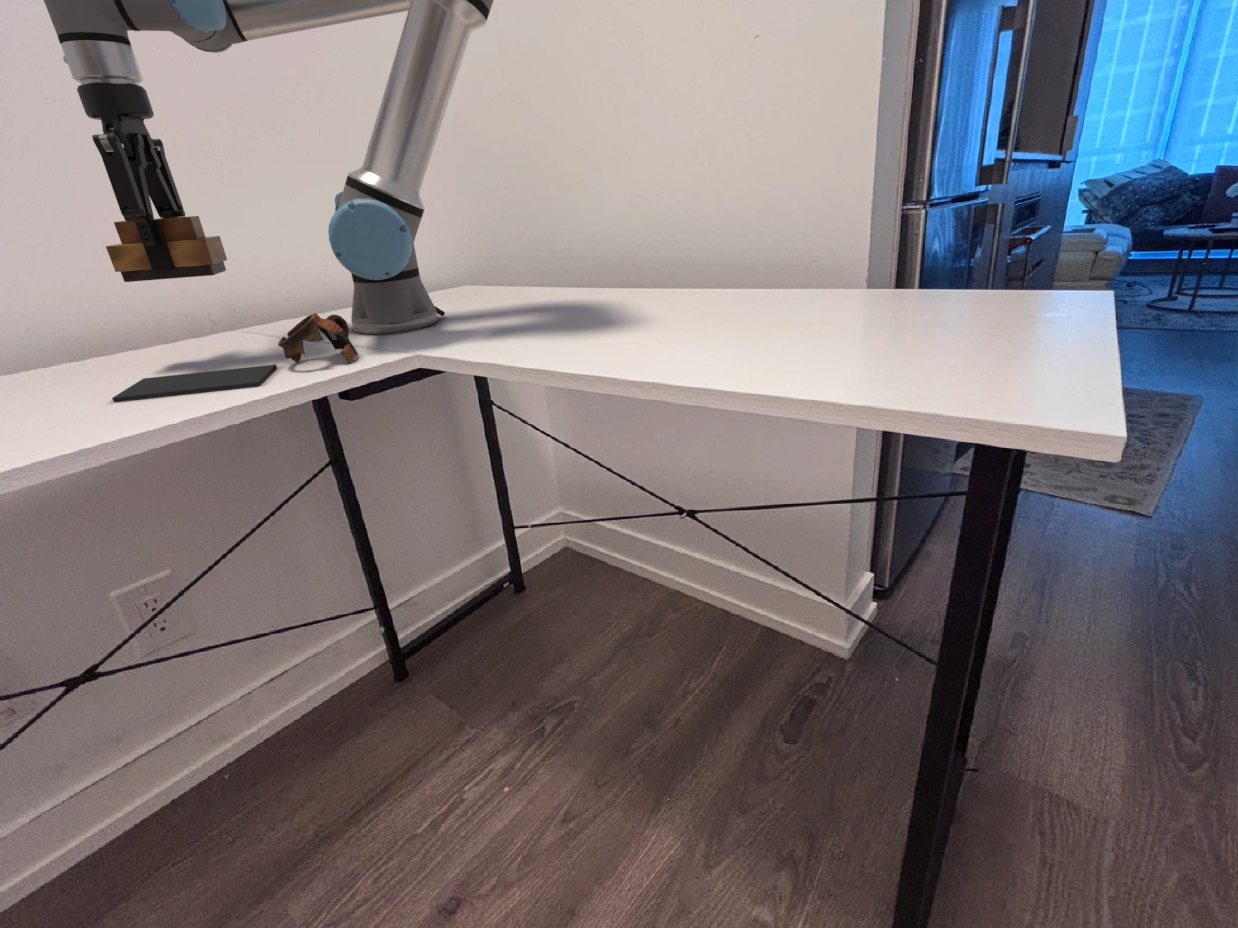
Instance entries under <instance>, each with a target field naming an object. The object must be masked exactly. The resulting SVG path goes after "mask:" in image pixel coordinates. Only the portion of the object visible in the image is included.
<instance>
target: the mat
mask: <svg viewBox="0 0 1238 928" xmlns="http://www.w3.org/2000/svg"><path fill="white" fill-rule="evenodd" d="M277 369H278V366H277V364H267V365H257V366H248V367H237V368H228V369H219V370H209V371H201V372H200V371H199V372H191V373H181V374H173V375H162V376H152V377H144V378H142V379H140V380H139V381H137V382H135V383H133V384H132V385H131V386H129V387H128V388H126V389H124V390H123V391H121V392H119V393H118V394H116V395H114V396H113V397H112V398H111V399H112V401H113V402H114V403H118V402H126V401H136V400H147V399H153V398H154V399H155V398H163V397H172V396H181V395H191V394H198V393H200V394H201V393H207V392H217V391H225V390H226V391H227V390H236V389H244V388H245V389H246V388H254V387H260V386H261V385H262V384H263V383H264V382H265V381H266V380H267V379H268V378H269V377H270V376H271V375H272V374H273V373H274V372H275V371H276V370H277Z"/></svg>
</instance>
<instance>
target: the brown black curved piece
mask: <svg viewBox="0 0 1238 928" xmlns="http://www.w3.org/2000/svg"><path fill="white" fill-rule="evenodd" d="M321 333H322V334H323V335H324V336H325V337H326V339H327V340H328V341H329V342H330V344H331V345H332V347H333V349H334V350H340V352H339V353H340V354H341V355H342V356H343V357H344V358H345V361H346V362H347V364H352V363H353V362H354V361H355V360H356V358H357V357H358V355H359V353H358V351H357V350H356V348H355V346H354V345H353V343H352V342H351V340H350V338H349V336H350V328H349V324H348V322H347V321H346V320H345V319H344V317H342V316H340V315H339V314H330V315H328V316H327V317H325V318H322V317H320V315H318V313H317V312H314V313H311V314H309V315H307V316H306V317H305V318H303V319H302V320H301V321H300V322H298V323H297V324H296V325H295V326H293V327H292V328H291V329H290V330H288V332H287V334H286V335H287V336H288V337H285V336H283V337H282V338H280V340H279V341H278V343H277V346H278V347H280V348H281V349H283V356H284V358H285V359H287V360H289V359H291V361H294V362H295V363H297V364H298V363H300V361H301V359H302V355H305V354H306V352H305V347H304V341H305V342H309V343H311V342H322V341H324V340H325V338H324V337H323V335H322V334H321Z"/></svg>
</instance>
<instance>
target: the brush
mask: <svg viewBox="0 0 1238 928" xmlns="http://www.w3.org/2000/svg"><path fill="white" fill-rule="evenodd" d="M157 220H159V222H160V225H161V228H162V231H163V234H164V237H165V240H166V242H167V245H168V248H169V251H170V254H171V257H172V260H173V263H174V265H175V269H168V270H155V271H153V270H152V267H151V265H150V262H149V259H148V256H147V254H146V251H145V248H144V245H143V243H142V240H141V237H140V234H139V232H138V229H137V226H136V223H135V222H127V221H126V220H120V221H114V222H113V225H114V227H115V229H116V233H117V235H118V238H119V240H120V243H117V244H111V245H106V246H105V248H106V251H107V254H108V256H109V258H110V261H111V264H112V267H113V269H114V271H115V273H120V274H121V277H122V279H123V282H124V283H131V282H133V283H134V282H145V281H158V280H169V279H182V278H195V277H196V278H197V277H207V276H215V275H218V274H221V273H223V272H226V271H227V269H226V265H225V261H228V258H227V255H226V251H225V248H224V245H223V242H222V238H221V236H220V235H215V236H206V234H205V232H204V227H203V225H202V221H201V218H200V216H199V215H193V216H192V215H190V216H185V217H174V218H160V217H159V218H154V220H152V221H157Z"/></svg>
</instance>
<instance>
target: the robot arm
mask: <svg viewBox="0 0 1238 928" xmlns="http://www.w3.org/2000/svg"><path fill="white" fill-rule="evenodd" d="M43 2H44V5H45V8H46V10H47V12H48V15H49V18H50V20H51V22H52V26H53V28H54V31H55V33H56V36H57V39H58V42H59V44H60V46H61V50H62V52H63V57H62V61H63V62H64V63H65V64H67V65H68V68H69V71H70V74H71V77H72V79H73V80H75V81H76V82H78V83H80V85H78V86H77V88H76V91H77V94H78V96H79V97H78V98H79V99H80V102H81V105H82V108H83V110H84V113H85V115H86V116H87V117H88V118H89V119H93V120H97V121H101V127H102V128H101V129H102V132H103V133H102V134H93V135H92V136H91V138H92V141H93V143H94V145H95V147H96V149H97V151H98V153H99V154H100V156H101V159H102V163H103V165H104V168H105V171H106V173H107V177H108V180H109V182H110V185H111V188H112V191H113V193H114V197H115V200H116V203H117V205H118V208H119V210H120V211H119V212H120V213H121V215H122V217H123V219H124V221H127V222H135V223H136V226H137V229H138V232H139V234H140V237H141V240H142V243H143V245H144V248H145V251H146V254H147V256H148V259H149V262H150V265H151V267H152V270H153V271H155V270H168V269H175V265H174V263H173V260H172V257H171V254H170V251H169V248H168V245H167V242H166V240H165V237H164V234H163V231H162V228H161V225H160V222H159V220H157V221H152V220H154V219H155V216H154V211H153V207H154V209H155V211H156V213H157V215H158V217H159V218H174V217H186V212H185V210H184V209H185V208H184V205H183V203H182V199H181V198H180V194H179V192H178V188H177V186H176V183H175V180H174V177H173V174H172V171H171V169H170V165H169V162H168V159H167V157H166V153H165V148H164V142H163V141H162V139H161V138H152V137H151V135H150V132H149V130H148V128H147V126H146V124H145V122H144V121H145V120H150V119H153V117H154V115H155V113H154V110H153V107H152V104H151V101H150V98H149V95H148V92H147V90H146V88H144V86H141V85H140V84H141V83H142V82H143V81H144V79H143V75H142V72H141V69H140V66H139V64H138V61H137V57H136V54H135V52H134V49H133V46H132V43H131V41H130V38H129V34H128V31H133V32H143V31H144V32H145V31H146V32H171V33H172V34H173V35H176V36H177V37H179V38H181V39H182V40H183V41H185V42H186V43H187V44H189V45H190V46H192V47H194V48H195V49H197V50H200V51H202V52H205V53H211V54H212V53H214V54H219V53H223V52H225V51H227V50H229V49H230V48H231V47H232V46H233V45H236V44H237V45H238V44H240V43H241V44H242V43H245V42H250V41H254V40H258V39H264V38H265V39H266V38H269V37H270V38H271V37H276V36H281V35H286V34H287V35H288V34H292V33H297V32H303V31H309V30H313V29H318V28H324V27H330V26H335V25H341V24H346V23H351V22H356V21H362V20H367V19H372V18H373V19H374V18H379V17H384V16H389V15H394V14H400V13H405V12H407V13H406V18H405V21H404V25H403V28H402V31H401V35H400V37H399V41H398V44H397V47H396V48H397V49H396V51H395V55H394V59H393V62H392V64H391V67H390V71H389V75H388V78H387V81H386V86H385V88H384V92H383V95H382V99H381V102H380V105H379V109H378V112H377V115H376V119H375V121H374V124H373V129H372V132H371V136H370V139H369V142H368V145H367V149H366V152H365V156H364V159H363V162H362V166H361V167H359V168H357V169H355V170H352V171H349V172H348V173H347V177H346V179H345V183H344V187H343V189H342V191H340V192H338V193H337V194H336V195H335V197H334V205H335V208H334V213H333V215H332V216H331V218H330V220H329V223H328V224H329V225H328V233H327V234H328V241H329V244H330V248H331V251H332V253H333V254H334V256H335V258H336V260H337V261H338V262H339V263H340V264H341V265H342V267H343V268H345V269H346V270H347V271H349V272H350V274H351V278H352V282H353V283H352V284H353V295H352V296H353V297H352V306H351V318H350V321H351V325H352V329H353V331H354V332H356V333H358V334H365V335H383V334H385V335H386V334H395V333H402V332H409V331H414V330H418V329H419V330H420V329H422V328H427V327H428V326H431V325H434V324H436V323H437V322H438V321H439V317H438V315H439V316H441V317H444V316H445V314H446V311H444V310H442V309H440V308H439V307H438V306H436V305H435V304H434V303H433V301H432V298H431V296H430V295H429V293H428V291H427V289H426V288H425V286H424V283H423V282H422V279H421V275H420V270H419V264H418V258H417V253H416V248H415V247H416V246H415V240H416V237H417V233H418V230H419V227H420V224H421V222H422V218H423V215H424V212H425V209H426V206H425V205H424V202H423V200H422V198H421V195H420V191H421V188H422V184H423V182H424V179H425V176H426V172H427V169H428V166H429V163H430V160H431V157H432V154H433V152H434V148H435V144H436V141H437V139H438V135H439V133H440V130H441V127H442V124H443V120H444V116H445V115H446V111H447V108H448V105H449V102H450V99H451V96H452V92H453V90H454V87H455V83H456V80H457V77H458V74H459V72H460V68H461V65H462V62H463V58H464V55H465V53H466V49H467V46H468V43H469V40H470V37H471V34H472V32H473V31H476V30H478V29H481V28H484V27H486V24H487V21H488V18H489V15H490V13H491V9H492V6H493V3H494V0H43ZM152 204H153V207H152Z"/></svg>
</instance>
